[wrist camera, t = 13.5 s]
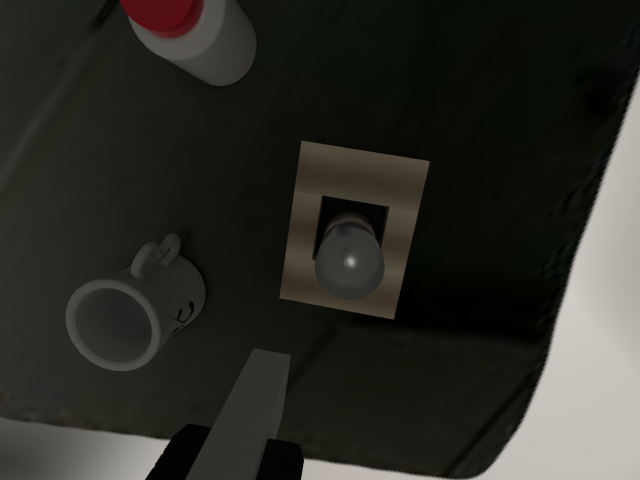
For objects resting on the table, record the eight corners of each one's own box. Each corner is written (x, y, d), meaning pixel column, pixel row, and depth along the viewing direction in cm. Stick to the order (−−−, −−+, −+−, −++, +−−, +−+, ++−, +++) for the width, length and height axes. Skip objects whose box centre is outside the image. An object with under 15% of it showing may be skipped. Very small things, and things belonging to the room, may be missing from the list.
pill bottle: (202, -17, 32) (126, -111, 21) (271, 27, 32) (230, -43, 21) (168, 59, 33) (82, 9, 23) (233, 101, 34) (179, 70, 23)
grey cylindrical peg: (331, 203, 35) (320, 228, 21) (374, 211, 35) (391, 240, 21) (324, 245, 36) (310, 293, 22) (366, 252, 36) (377, 305, 22)
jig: (305, 143, 34) (301, 140, 31) (422, 161, 33) (429, 161, 30) (285, 287, 38) (279, 298, 35) (390, 307, 37) (393, 319, 34)
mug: (195, 334, 40) (145, 388, 30) (126, 305, 40) (54, 349, 30) (227, 243, 37) (183, 270, 27) (153, 211, 37) (82, 227, 27)
